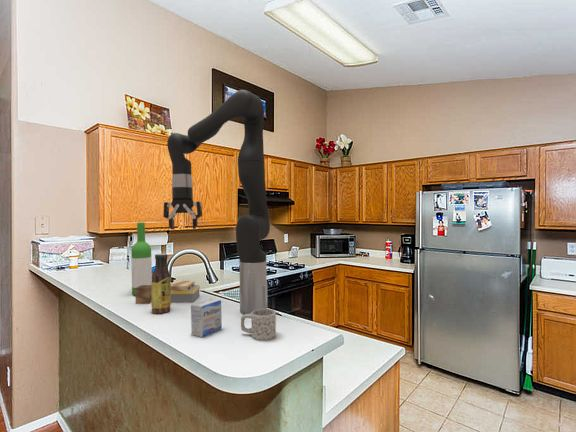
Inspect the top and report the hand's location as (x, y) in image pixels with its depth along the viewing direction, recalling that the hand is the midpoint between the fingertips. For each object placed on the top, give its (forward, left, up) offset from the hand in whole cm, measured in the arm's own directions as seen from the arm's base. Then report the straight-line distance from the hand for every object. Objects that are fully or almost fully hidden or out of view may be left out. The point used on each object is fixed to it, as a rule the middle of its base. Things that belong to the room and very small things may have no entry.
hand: (183, 228), depth 131 cm
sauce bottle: (+4, +14, -28) cm, 31 cm away
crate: (+15, +1, -28) cm, 32 cm away
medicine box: (-17, +33, -28) cm, 47 cm away
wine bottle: (+22, -12, -28) cm, 37 cm away
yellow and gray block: (+2, -3, -28) cm, 28 cm away
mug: (-32, +36, -28) cm, 56 cm away
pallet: (+2, -3, -23) cm, 24 cm away
